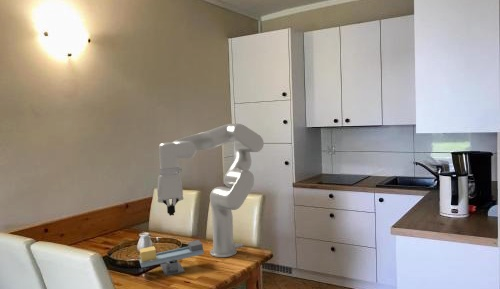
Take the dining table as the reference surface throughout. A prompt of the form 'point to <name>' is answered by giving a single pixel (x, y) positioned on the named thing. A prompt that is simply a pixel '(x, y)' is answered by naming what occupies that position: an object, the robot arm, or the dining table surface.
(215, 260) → the dining table surface
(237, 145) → the robot arm
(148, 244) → the flask
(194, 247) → the beam
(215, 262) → the dining table surface
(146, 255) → the block
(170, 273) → the fulcrum
